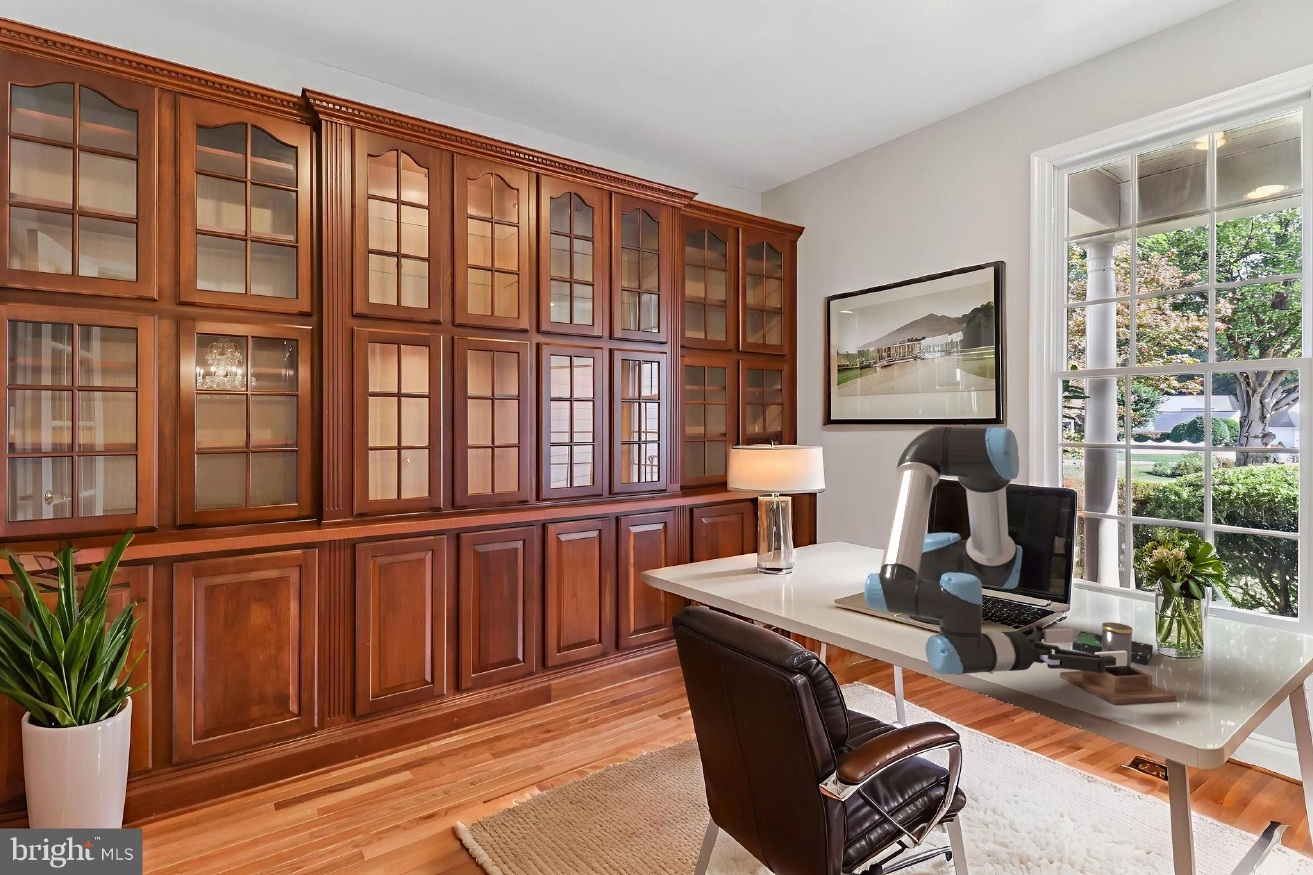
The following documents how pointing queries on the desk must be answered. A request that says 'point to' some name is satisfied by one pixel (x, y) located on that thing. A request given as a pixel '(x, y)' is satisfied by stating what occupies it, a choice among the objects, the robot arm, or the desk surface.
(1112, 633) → the grey post
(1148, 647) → the disk drive
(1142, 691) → the socket base
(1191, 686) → the desk surface
